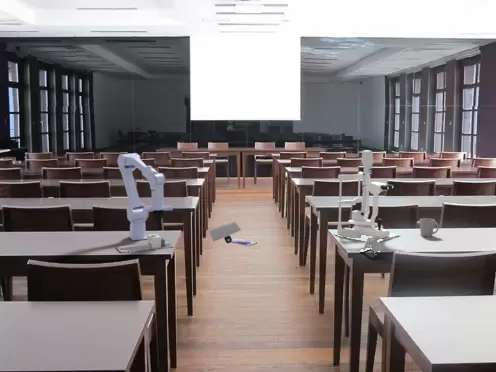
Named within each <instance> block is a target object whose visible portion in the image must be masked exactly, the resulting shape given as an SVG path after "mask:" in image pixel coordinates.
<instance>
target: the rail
mask: <svg viewBox="0 0 496 372" xmlns="http://www.w3.org/2000/svg"><path fill="white" fill-rule="evenodd" d="M118 247H119V249H120V250H130V251H135V252H143V250H144V251H152V250H151V249H153V250H159V249H158V248H162V249H169V248H168V247H172V248H174V247H175V246H174V245H172V244H171V242H169V241H166V240H165V239H164V238H163V237H161V247H158V248H151V244H150V243H148V242H147V243H141V244H140V243H139V244H130V245H122V246H121V245H120V246H118Z"/></svg>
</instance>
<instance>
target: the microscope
mask: <svg viewBox="0 0 496 372" xmlns="http://www.w3.org/2000/svg"><path fill="white" fill-rule="evenodd" d="M361 164H362V166H363V171H358V173H355V174H354V173H353V174H338V176H337V179H338V180H339V190H338V191H339V193H338V194H339V195H338V196H339V198H338V200H337V201H336V203H337V204H338V224H337V232H336V233H333V236H334V235H340V236H345V237H350V238H361V235H366V236H372V237H373V236H376V235H381V236H382V238H381V239H383V240H385V239H389V238H392V237H395V236H399V235H400V236H401V234H399V233H394V232H390V231H389V229H384V226H383V223H382V222H383V219H381V218H377V222H375V221H376V217H377V216H378V215H379V196H380V195H379V194H380V193H381V192H384V191H385V192H387V191H389V190H394V189H395V185H394V184H389V183H384V182H379V181H371V175H372V174H373V170H374V168H373V167H372V166H373V164H374V154H373V151H372V150H368V149H366V150H362V151H361ZM361 179H362V182H361ZM343 180H345V181H351V180H352V181H353V180H358V181H357V182H358V184H357V185H358V186H357V197H355V198H354V199H343V200H342V185H343V182H342V181H343ZM361 183H362V184H363V187H362V196H361ZM370 194H372V197H373V198H372V214H371V211H370V203H369V202H370ZM342 205H354V207H355V210H352V211H351V219H349V220H348V221H347V223H348V224H349V225H350V224H351V225H352V228H349V227H343V228H342ZM370 214H371V218H370V219H369V215H370ZM400 236H399V237H400ZM395 238H396V237H395ZM392 239H393V238H392ZM389 240H390V239H389Z"/></svg>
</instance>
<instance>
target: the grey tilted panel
mask: <svg viewBox="0 0 496 372" xmlns="http://www.w3.org/2000/svg"><path fill="white" fill-rule="evenodd" d="M241 231H242V229H241V228H240V226H239V224H238V223H237V222H236V221H231V222H229V223H225V224H222V225H219V226H216V227H213V228H209V229H208V232H209V235H210V237H211V239H212V242H217V241H218V240H221V239H223V238H224V241H225V243H226V244H230V243H231V242H232V239H233V238H232V236H231V235H233V234H236V233H238V232H241Z"/></svg>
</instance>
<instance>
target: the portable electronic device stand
mask: <svg viewBox="0 0 496 372" xmlns="http://www.w3.org/2000/svg"><path fill="white" fill-rule="evenodd" d="M381 238H382V236H381V235H376V236H373V237H369V238H368V239H367V241H366V242H365V244H364V246H363V247H360V248H359V249H358V251H359V250H361V249H363V250H365V249H366V248H370V247H371V248H373V249H372V250H373V253H374V256H377V255H378V254H375V252H377V251H381V249H380V246H379V243H378V242H377V240H379V239H381ZM369 242H371V243H369ZM369 244H371V245H369ZM377 253H378V252H377Z"/></svg>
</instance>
